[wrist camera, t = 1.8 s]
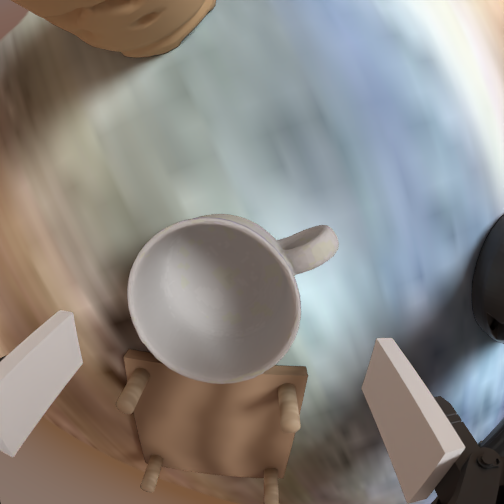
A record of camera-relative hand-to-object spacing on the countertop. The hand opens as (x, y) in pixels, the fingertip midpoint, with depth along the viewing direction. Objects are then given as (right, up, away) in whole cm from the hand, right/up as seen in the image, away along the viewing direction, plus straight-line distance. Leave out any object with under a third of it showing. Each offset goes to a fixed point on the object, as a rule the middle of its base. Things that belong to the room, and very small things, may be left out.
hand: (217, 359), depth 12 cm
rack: (-3, -14, +18) cm, 23 cm away
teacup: (+1, +3, +14) cm, 14 cm away
